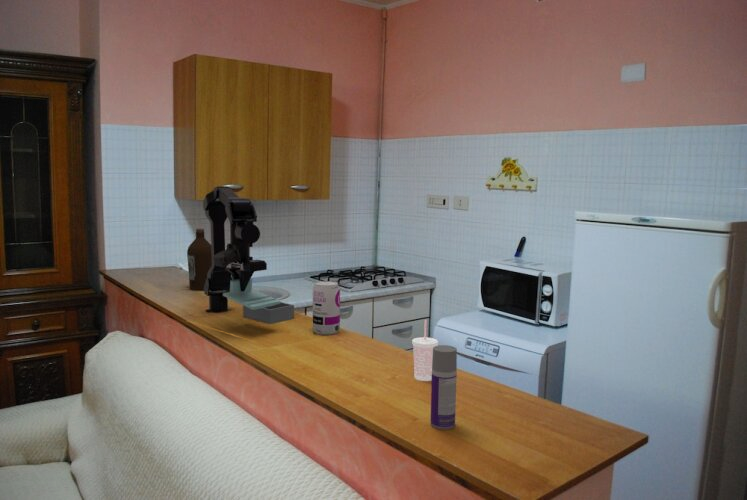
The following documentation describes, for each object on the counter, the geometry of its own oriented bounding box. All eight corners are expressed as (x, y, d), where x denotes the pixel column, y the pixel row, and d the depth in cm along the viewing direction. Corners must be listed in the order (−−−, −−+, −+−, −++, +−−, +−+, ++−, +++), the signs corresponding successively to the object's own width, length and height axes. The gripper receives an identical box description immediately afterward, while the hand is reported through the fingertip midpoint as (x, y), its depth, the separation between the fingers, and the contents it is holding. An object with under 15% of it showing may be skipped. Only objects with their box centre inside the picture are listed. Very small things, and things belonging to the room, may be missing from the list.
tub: (243, 318, 192) (242, 303, 191) (267, 313, 199) (266, 298, 198) (270, 325, 183) (270, 310, 182) (294, 320, 190) (294, 305, 189)
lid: (222, 297, 175) (223, 280, 174) (250, 292, 183) (251, 276, 181) (252, 311, 166) (253, 293, 165) (280, 305, 174) (281, 288, 172)
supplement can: (341, 328, 180) (341, 281, 178) (337, 335, 172) (337, 286, 170) (315, 327, 181) (315, 280, 179) (310, 334, 172) (310, 285, 171)
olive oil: (209, 285, 248) (208, 227, 245) (218, 289, 240) (217, 229, 236) (184, 287, 242) (183, 228, 239) (193, 292, 233) (191, 230, 230)
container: (428, 419, 113) (430, 345, 111) (452, 419, 113) (454, 344, 111) (432, 430, 108) (434, 352, 106) (457, 429, 109) (459, 352, 107)
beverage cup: (406, 378, 136) (407, 320, 134) (419, 371, 141) (420, 315, 139) (429, 384, 132) (430, 324, 131) (441, 376, 138) (443, 319, 136)
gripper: (199, 239, 175) (200, 290, 177) (236, 245, 163) (237, 299, 165) (230, 237, 183) (230, 285, 185) (267, 242, 171) (268, 293, 173)
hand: (240, 290), depth 177 cm, fingers closed on lid
